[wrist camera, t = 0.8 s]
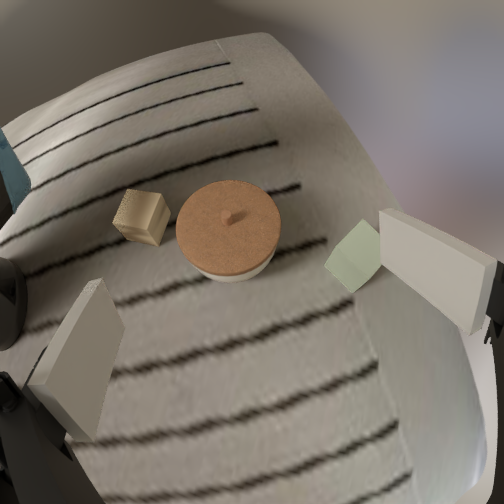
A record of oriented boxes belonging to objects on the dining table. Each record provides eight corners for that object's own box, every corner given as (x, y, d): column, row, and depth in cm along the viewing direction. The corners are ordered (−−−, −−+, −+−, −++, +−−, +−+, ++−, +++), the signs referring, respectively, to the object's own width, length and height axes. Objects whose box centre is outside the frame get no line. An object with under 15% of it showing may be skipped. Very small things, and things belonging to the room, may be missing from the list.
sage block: (323, 265, 36) (335, 246, 30) (348, 240, 37) (362, 218, 31) (352, 293, 34) (369, 278, 29) (375, 267, 36) (394, 248, 30)
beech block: (127, 239, 37) (112, 222, 33) (139, 208, 39) (127, 188, 35) (159, 246, 37) (146, 229, 32) (171, 213, 39) (161, 193, 34)
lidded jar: (225, 200, 39) (218, 155, 31) (293, 242, 37) (303, 203, 28) (173, 261, 36) (149, 226, 28) (242, 311, 34) (237, 291, 25)
